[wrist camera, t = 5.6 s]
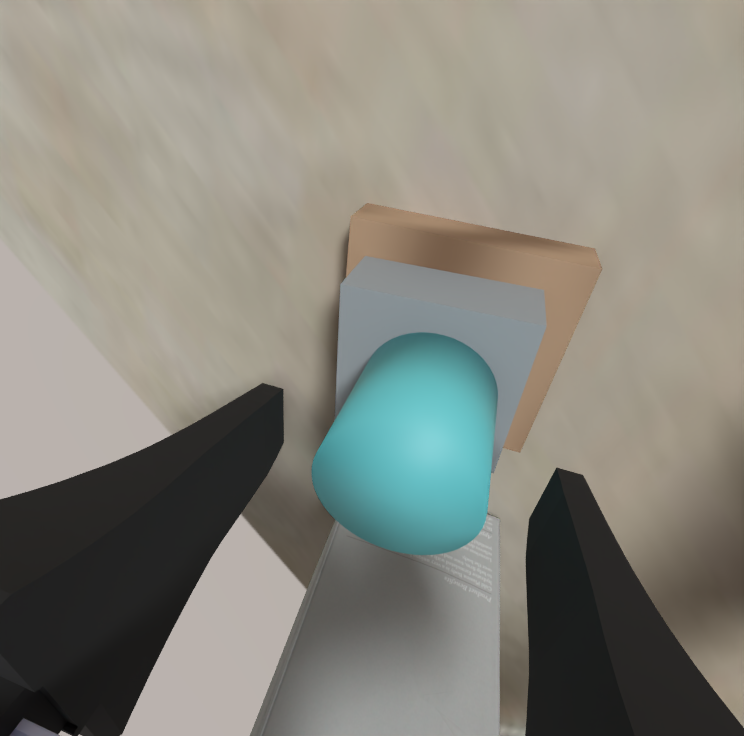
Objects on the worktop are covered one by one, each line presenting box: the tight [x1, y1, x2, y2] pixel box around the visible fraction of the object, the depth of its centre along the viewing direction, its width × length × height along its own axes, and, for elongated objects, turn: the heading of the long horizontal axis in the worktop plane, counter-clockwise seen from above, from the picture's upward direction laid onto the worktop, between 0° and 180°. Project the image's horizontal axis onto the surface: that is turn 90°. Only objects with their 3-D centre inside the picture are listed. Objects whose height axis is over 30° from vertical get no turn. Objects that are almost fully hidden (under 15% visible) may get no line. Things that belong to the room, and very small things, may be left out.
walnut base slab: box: [346, 203, 602, 452], centre depth 17 cm, size 8×8×2 cm
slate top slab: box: [335, 256, 547, 473], centre depth 15 cm, size 6×6×2 cm
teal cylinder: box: [312, 332, 498, 555], centre depth 13 cm, size 4×4×4 cm
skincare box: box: [250, 514, 500, 736], centre depth 18 cm, size 8×7×16 cm
